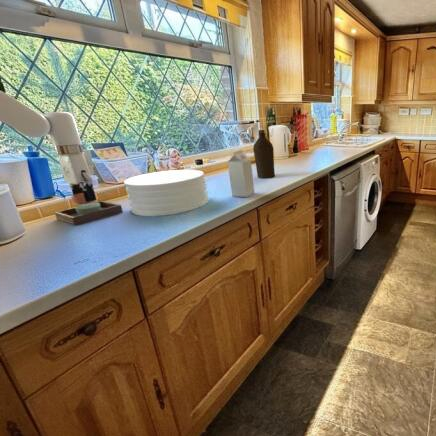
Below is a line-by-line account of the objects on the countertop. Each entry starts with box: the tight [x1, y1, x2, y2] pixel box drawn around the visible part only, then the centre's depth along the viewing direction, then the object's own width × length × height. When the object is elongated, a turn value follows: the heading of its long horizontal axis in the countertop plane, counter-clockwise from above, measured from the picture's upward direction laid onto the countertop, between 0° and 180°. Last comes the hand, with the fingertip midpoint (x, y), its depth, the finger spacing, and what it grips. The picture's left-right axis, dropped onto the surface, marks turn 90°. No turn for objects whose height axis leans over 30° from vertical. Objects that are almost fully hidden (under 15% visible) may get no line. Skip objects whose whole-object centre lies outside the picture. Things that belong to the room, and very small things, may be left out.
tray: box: [54, 200, 124, 226], centre depth 111 cm, size 16×14×3 cm
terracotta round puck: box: [70, 191, 99, 205], centre depth 109 cm, size 7×7×3 cm
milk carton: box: [227, 149, 255, 198], centre depth 129 cm, size 7×7×19 cm
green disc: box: [74, 202, 102, 215], centre depth 111 cm, size 7×7×3 cm
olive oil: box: [252, 129, 276, 179], centre depth 163 cm, size 11×11×25 cm
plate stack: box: [123, 169, 209, 217], centre depth 120 cm, size 28×28×12 cm
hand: (85, 199), depth 109 cm, fingers closed on terracotta round puck, 7 cm apart
